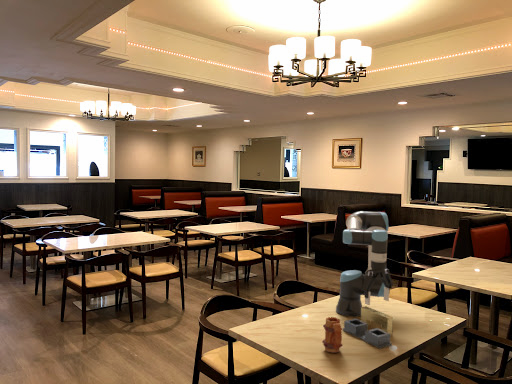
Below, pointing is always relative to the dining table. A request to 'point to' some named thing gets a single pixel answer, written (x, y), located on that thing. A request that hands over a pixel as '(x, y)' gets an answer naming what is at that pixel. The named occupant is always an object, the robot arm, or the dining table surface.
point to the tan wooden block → (377, 318)
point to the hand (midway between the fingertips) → (376, 302)
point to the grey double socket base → (367, 333)
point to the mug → (332, 335)
